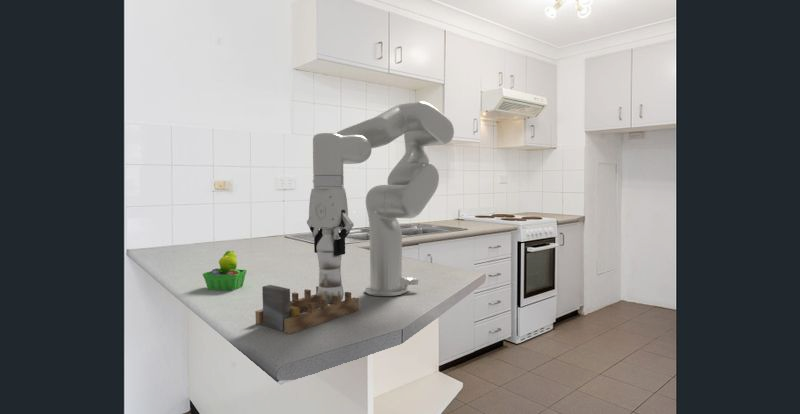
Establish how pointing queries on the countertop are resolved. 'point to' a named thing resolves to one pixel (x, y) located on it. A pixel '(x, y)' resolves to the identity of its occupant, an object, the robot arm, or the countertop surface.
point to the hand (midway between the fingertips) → (329, 252)
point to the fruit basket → (225, 274)
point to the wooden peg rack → (300, 309)
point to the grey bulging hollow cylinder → (329, 268)
